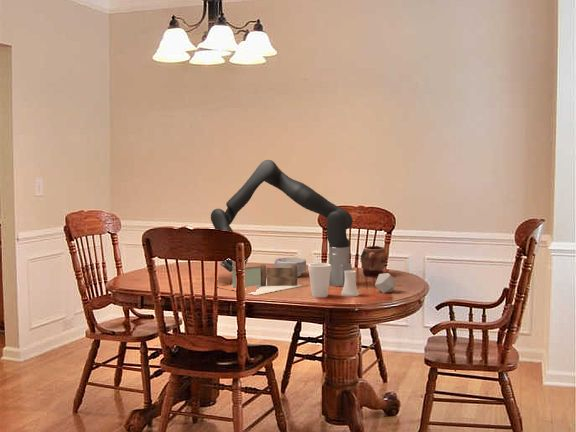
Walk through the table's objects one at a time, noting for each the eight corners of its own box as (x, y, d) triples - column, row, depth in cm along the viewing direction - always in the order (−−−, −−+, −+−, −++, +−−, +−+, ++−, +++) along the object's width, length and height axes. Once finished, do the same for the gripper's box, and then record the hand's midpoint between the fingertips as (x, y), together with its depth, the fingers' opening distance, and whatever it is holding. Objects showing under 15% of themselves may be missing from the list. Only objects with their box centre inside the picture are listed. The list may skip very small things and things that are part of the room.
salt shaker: (362, 294, 288) (362, 270, 287) (351, 297, 282) (351, 273, 281) (348, 292, 293) (348, 269, 292) (337, 295, 287) (337, 271, 286)
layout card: (302, 286, 307) (302, 285, 307) (255, 295, 287) (255, 294, 287) (262, 279, 325) (262, 278, 325) (216, 287, 306) (216, 286, 306)
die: (387, 290, 299) (374, 273, 298) (403, 282, 294) (389, 265, 293) (382, 300, 293) (368, 283, 292) (397, 293, 288) (383, 275, 287)
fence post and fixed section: (297, 284, 309) (297, 264, 308) (297, 285, 306) (297, 265, 305) (260, 285, 309) (260, 264, 308) (260, 286, 306) (260, 265, 305)
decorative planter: (384, 280, 320) (385, 250, 318) (358, 279, 322) (358, 249, 321) (387, 272, 339) (387, 244, 338) (362, 272, 341) (362, 244, 340)
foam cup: (312, 298, 281) (311, 267, 279) (305, 294, 289) (305, 263, 288) (334, 297, 283) (334, 265, 282) (327, 293, 292) (326, 262, 291)
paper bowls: (306, 278, 326) (306, 261, 325) (274, 278, 326) (273, 262, 325) (306, 273, 341) (306, 257, 340) (275, 273, 341) (275, 257, 340)
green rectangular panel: (259, 284, 307) (259, 265, 307) (260, 285, 306) (260, 266, 305) (232, 287, 301) (232, 268, 301) (233, 288, 300) (233, 268, 299)
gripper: (217, 242, 307) (227, 274, 298) (245, 240, 313) (255, 271, 303) (213, 252, 313) (223, 284, 303) (241, 250, 318) (251, 281, 308)
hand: (239, 278), depth 303 cm, fingers closed
